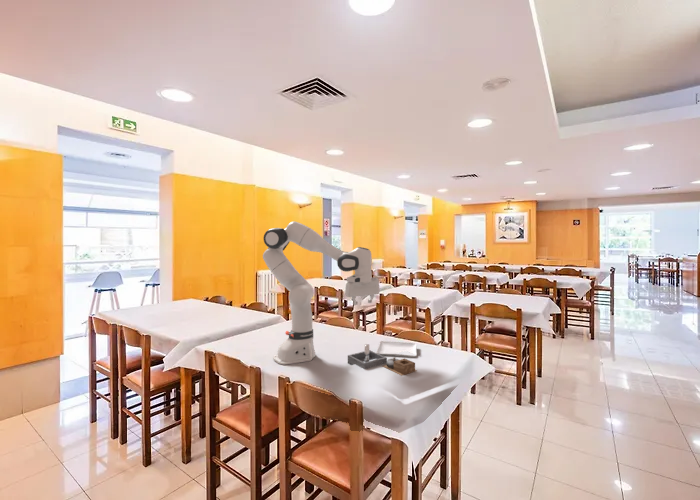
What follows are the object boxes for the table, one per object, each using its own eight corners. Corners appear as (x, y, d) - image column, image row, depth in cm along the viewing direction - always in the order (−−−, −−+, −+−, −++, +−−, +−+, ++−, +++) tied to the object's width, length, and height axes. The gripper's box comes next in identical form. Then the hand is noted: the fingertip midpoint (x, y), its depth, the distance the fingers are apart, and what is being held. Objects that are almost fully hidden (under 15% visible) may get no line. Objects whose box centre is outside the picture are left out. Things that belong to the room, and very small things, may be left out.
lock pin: (366, 363, 167) (366, 346, 167) (363, 362, 169) (363, 344, 169) (370, 363, 168) (370, 345, 168) (367, 361, 170) (367, 343, 170)
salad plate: (416, 361, 173) (416, 355, 173) (375, 359, 177) (375, 352, 177) (416, 348, 194) (416, 342, 194) (380, 346, 198) (380, 340, 198)
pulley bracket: (401, 378, 151) (401, 366, 151) (381, 368, 163) (381, 357, 162) (417, 373, 156) (417, 362, 156) (396, 364, 168) (396, 353, 168)
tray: (364, 372, 159) (364, 363, 159) (347, 363, 171) (347, 355, 170) (386, 365, 167) (386, 357, 167) (369, 357, 178) (369, 350, 178)
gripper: (375, 276, 186) (374, 301, 186) (343, 278, 175) (343, 304, 175) (382, 277, 181) (381, 303, 181) (350, 279, 170) (350, 306, 170)
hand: (362, 303), depth 178 cm, fingers open, 8 cm apart
